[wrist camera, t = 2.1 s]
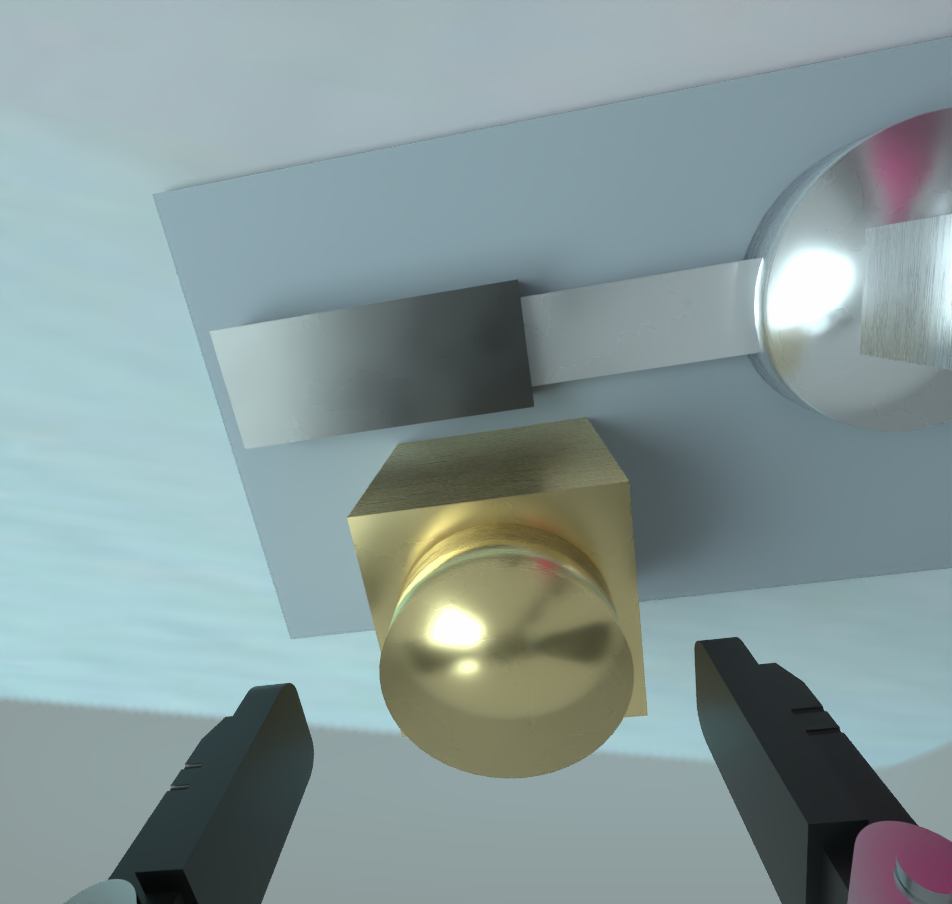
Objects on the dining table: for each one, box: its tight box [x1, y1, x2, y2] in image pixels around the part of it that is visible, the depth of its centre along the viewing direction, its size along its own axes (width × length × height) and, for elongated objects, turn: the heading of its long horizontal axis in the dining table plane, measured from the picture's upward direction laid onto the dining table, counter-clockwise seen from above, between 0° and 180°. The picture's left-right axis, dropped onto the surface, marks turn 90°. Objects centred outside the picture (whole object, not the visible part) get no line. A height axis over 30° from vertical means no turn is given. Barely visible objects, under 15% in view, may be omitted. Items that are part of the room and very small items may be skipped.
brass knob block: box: [347, 417, 648, 778], centre depth 14 cm, size 6×6×8 cm
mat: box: [153, 36, 952, 639], centre depth 17 cm, size 16×26×1 cm, turn 99°
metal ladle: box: [209, 108, 952, 449], centre depth 13 cm, size 8×24×6 cm, turn 99°
